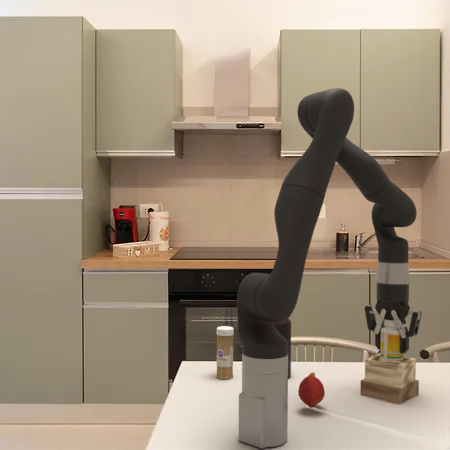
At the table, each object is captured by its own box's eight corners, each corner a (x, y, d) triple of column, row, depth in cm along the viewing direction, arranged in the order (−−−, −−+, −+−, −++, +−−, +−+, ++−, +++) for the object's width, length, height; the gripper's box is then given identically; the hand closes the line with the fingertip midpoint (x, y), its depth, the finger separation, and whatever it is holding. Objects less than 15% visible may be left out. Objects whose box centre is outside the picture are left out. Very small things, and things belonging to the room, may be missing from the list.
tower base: (398, 406, 134) (398, 389, 134) (360, 396, 141) (360, 380, 141) (418, 396, 141) (418, 380, 141) (381, 387, 148) (381, 372, 148)
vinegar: (277, 382, 151) (277, 305, 150) (260, 376, 156) (260, 302, 156) (296, 378, 155) (296, 303, 154) (279, 372, 160) (279, 299, 160)
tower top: (401, 388, 135) (401, 366, 135) (364, 381, 140) (365, 359, 140) (415, 379, 142) (415, 358, 142) (380, 373, 147) (380, 352, 147)
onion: (304, 413, 128) (304, 376, 128) (294, 404, 134) (294, 369, 134) (328, 410, 130) (329, 374, 130) (317, 402, 135) (318, 368, 135)
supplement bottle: (375, 358, 141) (376, 318, 141) (388, 355, 145) (389, 316, 145) (394, 363, 137) (395, 322, 137) (407, 359, 141) (408, 319, 140)
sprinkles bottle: (213, 379, 154) (213, 328, 153) (219, 374, 158) (220, 325, 158) (230, 381, 152) (230, 329, 152) (235, 376, 156) (236, 326, 156)
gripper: (358, 279, 143) (357, 348, 143) (414, 285, 133) (413, 359, 133) (373, 277, 148) (372, 343, 148) (428, 282, 138) (427, 353, 139)
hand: (391, 350), depth 141 cm, fingers closed on supplement bottle, 5 cm apart
